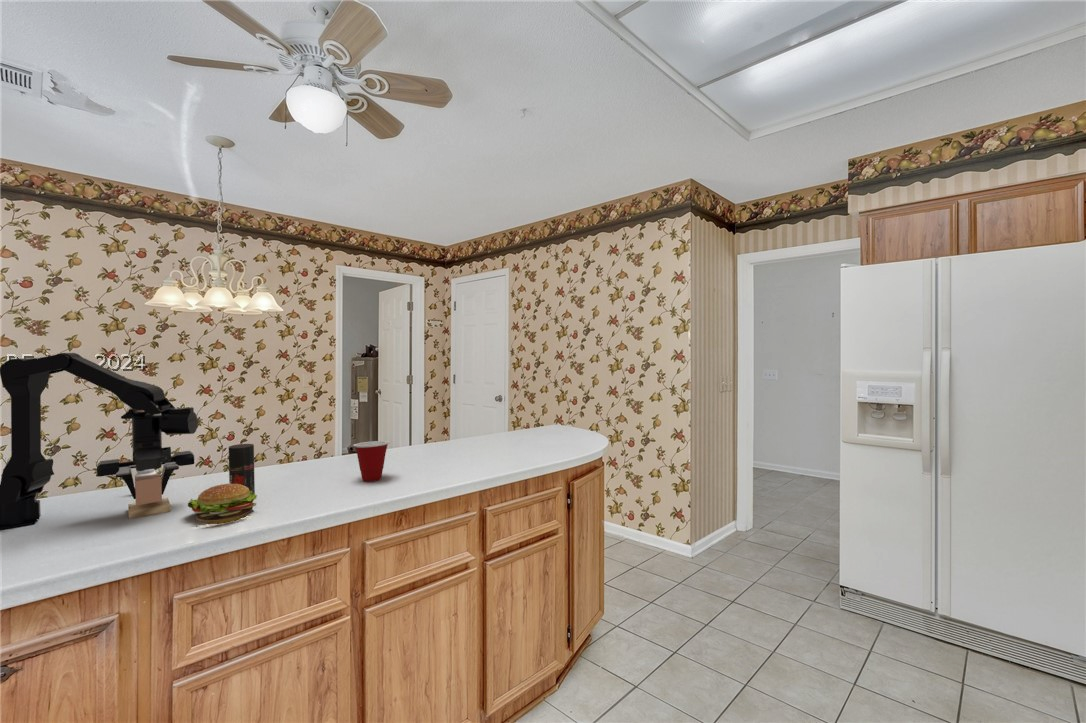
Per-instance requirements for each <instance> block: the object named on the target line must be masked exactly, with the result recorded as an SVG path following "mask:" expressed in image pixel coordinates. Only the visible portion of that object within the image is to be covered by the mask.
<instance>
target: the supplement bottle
mask: <svg viewBox="0 0 1086 723" xmlns="http://www.w3.org/2000/svg"><path fill="white" fill-rule="evenodd" d="M135 470H136V469H135ZM155 470H156V469H148V470H144V471H137V470H136V473H135V475H134V478H135V477H138V476H145V475H153V474H157V472H156V471H155Z"/></svg>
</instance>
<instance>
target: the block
mask: <svg viewBox="0 0 1086 723" xmlns="http://www.w3.org/2000/svg"><path fill="white" fill-rule="evenodd" d="M161 481H162V474H161V473H156V474H153V475H145V476H138V477H135V476H134V487H135V492H136V499H135V503H136V505H141V504H147V503H153V502H159V501H162V499H163V496H162V483H161Z"/></svg>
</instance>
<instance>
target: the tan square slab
mask: <svg viewBox="0 0 1086 723" xmlns="http://www.w3.org/2000/svg"><path fill="white" fill-rule="evenodd" d="M170 502H171V501H170V500H169V497H165V498H163V497H162V501H159V502H153V503H147V504H141V505H136V502H134V503H133V502H132V503H128V509H127V512H129V516H128V519H129V518H132V519H136V518H135V517H137V518H142V517H141V516H143V517H147V516H146V515H148V516H153V515H152V514H154V515H159V514H163V512H165V513H170V512H172V511H171V510H172V509H171V504H170ZM169 511H170V512H169ZM158 513H159V514H158Z"/></svg>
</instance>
